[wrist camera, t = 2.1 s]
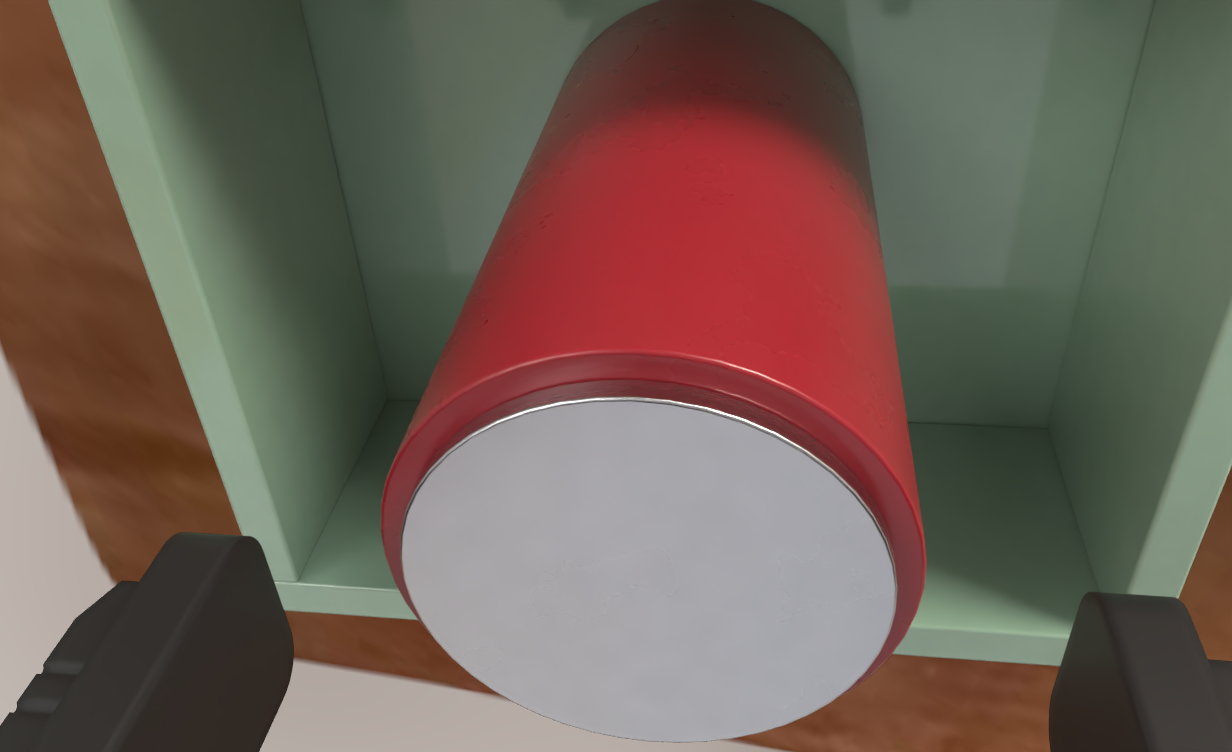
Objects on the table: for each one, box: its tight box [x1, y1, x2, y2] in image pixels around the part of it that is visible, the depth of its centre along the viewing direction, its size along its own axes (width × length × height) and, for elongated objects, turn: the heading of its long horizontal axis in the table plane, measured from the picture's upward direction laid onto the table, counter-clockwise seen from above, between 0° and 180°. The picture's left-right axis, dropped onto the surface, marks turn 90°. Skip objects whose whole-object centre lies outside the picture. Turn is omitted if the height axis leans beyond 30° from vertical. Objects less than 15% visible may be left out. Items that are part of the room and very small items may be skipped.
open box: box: [48, 0, 1232, 666], centre depth 17 cm, size 14×16×6 cm
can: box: [381, 0, 927, 743], centre depth 15 cm, size 6×6×10 cm
